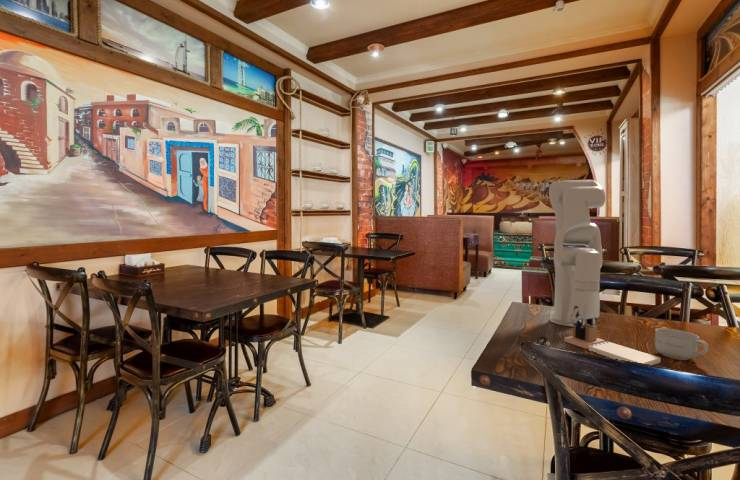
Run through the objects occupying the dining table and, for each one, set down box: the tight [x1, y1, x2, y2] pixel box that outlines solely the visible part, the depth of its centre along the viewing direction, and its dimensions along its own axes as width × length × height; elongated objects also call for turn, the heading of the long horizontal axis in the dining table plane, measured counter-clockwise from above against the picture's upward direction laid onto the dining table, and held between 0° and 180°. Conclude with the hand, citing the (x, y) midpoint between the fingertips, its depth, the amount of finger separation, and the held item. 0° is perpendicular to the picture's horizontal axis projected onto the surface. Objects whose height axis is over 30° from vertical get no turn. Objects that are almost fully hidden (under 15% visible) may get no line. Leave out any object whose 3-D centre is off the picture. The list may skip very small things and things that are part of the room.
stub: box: [563, 322, 606, 350], centre depth 128 cm, size 10×8×6 cm
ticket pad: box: [588, 340, 662, 366], centre depth 116 cm, size 10×16×2 cm, turn 26°
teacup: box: [654, 327, 710, 361], centre depth 114 cm, size 14×11×8 cm
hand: (584, 336), depth 128 cm, fingers closed on stub, 4 cm apart
